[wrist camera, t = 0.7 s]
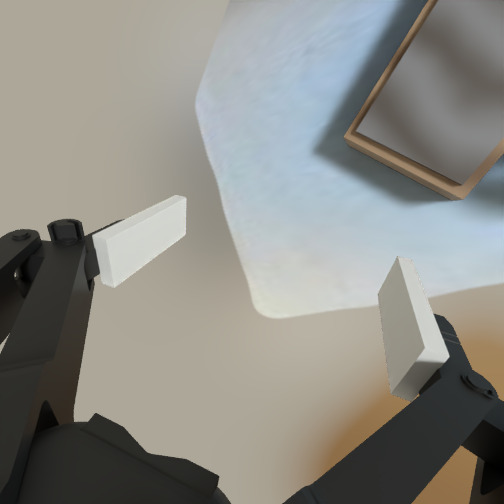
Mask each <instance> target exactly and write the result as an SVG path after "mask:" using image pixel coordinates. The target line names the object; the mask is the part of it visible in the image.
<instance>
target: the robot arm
mask: <svg viewBox="0 0 504 504" xmlns="http://www.w3.org/2000/svg"><path fill="white" fill-rule="evenodd" d="M47 227H48V231H49V234H50V238H51V241H43V240H41V239H40V236H39V233H38V232H37V231H35V230H30V229H28V230H27V229H20V230H15V231H13V232H10V233H8V234H6V235H4V236H3V237H1V238H0V344H1V343H2V342H3V341H4V340H5V338H6V337H7V336H8V335H9V336H8V338H7V341H6V343H5V345H4V347H3V349H2V351H1V354H0V504H231V503H230V501H229V500H228V498H227V497H226V496H225V494H224V493H223V492H222V491H221V490H220V489H219V488H218V487H217V486H218V480H219V476H218V475H216V474H214V473H212V472H210V471H208V470H207V469H204V468H203V467H201V466H199V465H197V464H195V463H193V462H191V461H189V460H187V459H182V458H175V457H168V456H162V455H154V454H150V453H147V452H146V451H145V450H144V449H143V448H142V447H141V446H140V445H139V444H138V442H137V441H136V440H135V439H134V438H133V437H132V436H131V435H130V434H129V433H128V431H127V430H126V429H125V428H124V427H123V426H120V425H119V424H117V423H115V422H113V421H111V420H109V419H107V418H105V417H103V416H101V415H99V414H97V413H95V414H94V415H93V417H92V418H91V419H90V420H89V421H88V422H74V417H73V416H74V404H75V397H76V392H77V386H78V380H79V374H80V368H81V362H82V356H83V350H84V344H85V338H86V332H87V327H88V321H89V315H90V309H91V303H92V297H93V290H94V285H95V283H94V277H95V276H97V275H99V274H100V278H101V282H102V284H105V285H107V286H110V287H113V288H115V287H116V286H118V285H119V284H120V283H122V282H123V281H124V280H126V279H127V278H128V277H130V276H131V275H132V274H134V273H135V272H136V271H138V270H139V269H140V268H142V267H143V266H144V265H146V264H147V263H148V262H150V261H151V260H152V259H154V258H155V257H156V256H158V255H159V254H160V253H162V252H163V251H165V250H166V249H167V248H169V247H170V246H171V245H173V244H174V243H175V242H177V241H178V240H179V239H181V238H182V237H183V236H185V235H186V197H182V196H178V195H175V196H172V197H170V198H168V199H167V200H164V201H162V202H160V203H158V204H156V205H154V206H152V207H150V208H148V209H145V210H143V211H141V212H140V213H137V214H135V215H133V216H131V217H129V218H127V219H123V220H119V221H116V222H114V223H112V224H110V225H107V226H105V227H104V228H101V229H99V230H97V231H95V232H92V233H90V234H88V235H86V236H84V231H83V227H82V222H80V221H78V220H75V219H62V220H57V221H54V222H51V223H50V224H49V225H47ZM15 273H16V275H17V276H16V277H14V274H15ZM378 300H379V308H380V316H381V323H382V331H383V339H384V346H385V354H386V362H387V369H388V377H389V385H390V392H391V394H392V395H395V396H397V397H400V398H403V399H405V400H408V401H410V402H411V403H410V404H409V405H408V406H406V407H405V408H404V409H403V410H402V411H400V412H399V413H398V414H397V415H395V416H394V417H393V418H392V419H391V420H389V421H388V422H387V423H386V424H385V425H383V426H382V427H381V428H380V429H379V430H377V431H376V432H375V433H374V434H373V435H371V436H370V437H369V438H368V439H366V440H365V441H364V442H363V443H361V444H360V445H359V446H358V447H357V448H355V449H354V450H353V451H352V452H351V453H349V454H348V455H347V456H346V457H345V458H343V459H342V460H341V461H340V462H338V463H337V464H336V465H335V466H333V467H332V468H331V469H330V470H329V471H327V472H326V473H325V474H324V475H323V476H322V477H320V478H319V479H318V480H317V481H315V482H314V483H313V484H311V485H309V486H305V487H303V488H302V489H300V490H299V491H298V492H296V493H295V494H294V495H293V496H291V497H290V498H289V499H288V500H286V501H285V502H284V503H283V504H411V503H412V502H413V501H414V500H415V499H416V497H417V496H418V495H419V494H420V493H421V491H422V490H423V489H424V488H425V487H426V486H427V484H428V483H429V482H430V481H431V480H432V479H433V477H434V476H435V475H436V474H437V473H438V471H439V470H440V469H441V468H442V467H443V466H444V464H445V463H446V462H447V461H448V460H449V459H450V457H451V456H452V455H453V454H454V453H455V451H456V450H457V449H458V448H459V447H460V445H461V446H463V447H464V448H466V449H467V450H469V451H470V452H472V453H473V454H475V455H476V456H478V458H477V464H476V469H475V475H474V480H473V486H472V491H471V497H470V503H469V504H504V401H502V400H500V399H499V398H498V395H497V392H496V390H495V389H494V387H493V386H492V385H491V383H490V382H488V381H487V380H486V379H485V378H484V377H483V376H482V375H480V374H478V373H477V372H475V371H474V370H472V368H471V365H470V363H469V361H468V359H467V357H466V354H465V352H464V350H463V348H462V346H461V345H460V341H459V339H458V338H457V335H456V332H455V330H454V328H453V327H452V325H451V324H450V323H449V322H448V321H447V320H446V319H445V317H443V316H440V315H436V314H434V313H433V312H432V310H431V307H430V304H429V302H428V299H427V297H426V294H425V291H424V289H423V286H422V284H421V281H420V279H419V276H418V273H417V271H416V268H415V266H414V263H413V261H412V260H410V259H406V258H402V257H399V256H397V258H396V260H395V262H394V264H393V266H392V268H391V270H390V272H389V273H388V275H387V277H386V279H385V281H384V283H383V285H382V287H381V289H380V291H379V293H378ZM9 333H10V334H9ZM418 394H419V395H420V396H419V397H417V398H416V399H415V400H414V401H413V399H414V398H415V397H416V396H417V395H418Z"/></svg>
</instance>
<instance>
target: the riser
mask: <svg viewBox="0 0 504 504" xmlns="http://www.w3.org/2000/svg"><path fill="white" fill-rule="evenodd" d="M344 139H345V141H346V142H347V144H348V146H350V147H352V148H354V149H356V150H358V151H360V152H362V153H364V154H365V155H367V156H369V157H371V158H373V159H375V160H377V161H379V162H381V163H382V164H384V165H386V166H388V167H390V168H392V169H394V170H396V171H398V172H399V173H401V174H403V175H405V176H407V177H409V178H411V179H413V180H414V181H416V182H418V183H420V184H422V185H424V186H426V187H428V188H430V189H431V190H433V191H435V192H437V193H439V194H441V195H443V196H445V197H447V198H448V199H450V200H452V201H454V200H463V199H464V198H465V197H466V196H467V195H468V194H469V192H470V191H471V190H472V189H473V188H474V187H475V186H476V184H477V183H478V182H479V181H480V180H481V179H482V178H483V176H484V175H485V174H486V173H487V172H488V171H489V170H490V168H491V167H492V166H493V165H494V164H495V163H496V162H497V160H498V159H499V158H500V157H501V156H502V155H503V154H504V0H428V1H427V3H426V5H425V6H424V8H423V9H422V11H421V13H420V14H419V16H418V18H417V19H416V21H415V22H414V24H413V26H412V27H411V29H410V30H409V32H408V34H407V35H406V37H405V39H404V40H403V42H402V43H401V45H400V47H399V48H398V50H397V51H396V53H395V55H394V56H393V58H392V60H391V61H390V63H389V64H388V66H387V68H386V69H385V71H384V72H383V74H382V76H381V77H380V79H379V80H378V82H377V84H376V85H375V87H374V89H373V90H372V92H371V93H370V95H369V97H368V98H367V100H366V101H365V103H364V105H363V106H362V108H361V110H360V111H359V113H358V114H357V116H356V118H355V119H354V121H353V122H352V124H351V126H350V127H349V129H348V131H347V132H346V134H345V135H344Z"/></svg>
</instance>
